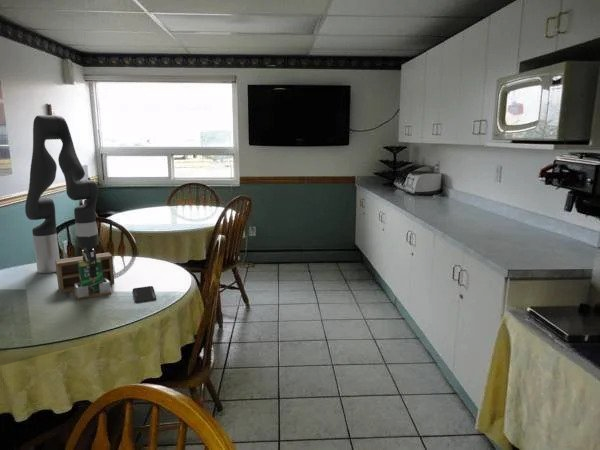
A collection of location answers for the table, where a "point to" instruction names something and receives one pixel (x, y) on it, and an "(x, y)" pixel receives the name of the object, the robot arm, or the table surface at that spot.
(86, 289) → the grey open rectangular frame
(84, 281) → the coffee box
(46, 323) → the table surface
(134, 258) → the table surface
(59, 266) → the walnut cabinet
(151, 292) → the phone
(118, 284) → the table surface
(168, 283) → the table surface
